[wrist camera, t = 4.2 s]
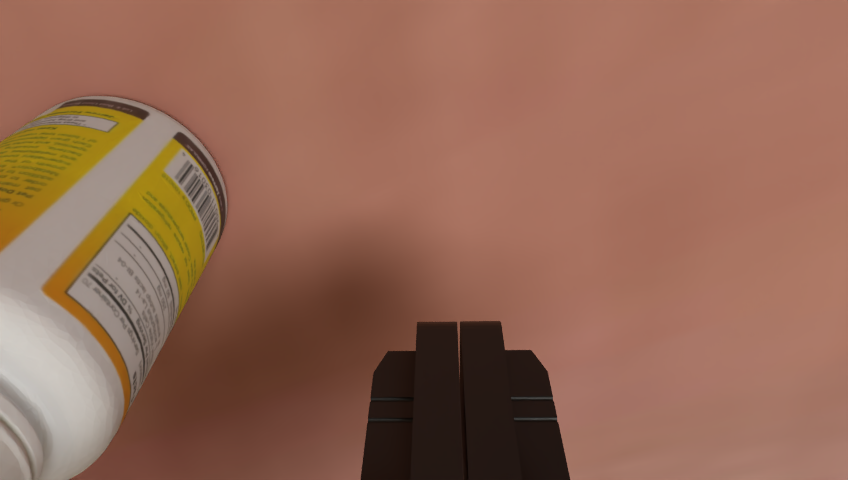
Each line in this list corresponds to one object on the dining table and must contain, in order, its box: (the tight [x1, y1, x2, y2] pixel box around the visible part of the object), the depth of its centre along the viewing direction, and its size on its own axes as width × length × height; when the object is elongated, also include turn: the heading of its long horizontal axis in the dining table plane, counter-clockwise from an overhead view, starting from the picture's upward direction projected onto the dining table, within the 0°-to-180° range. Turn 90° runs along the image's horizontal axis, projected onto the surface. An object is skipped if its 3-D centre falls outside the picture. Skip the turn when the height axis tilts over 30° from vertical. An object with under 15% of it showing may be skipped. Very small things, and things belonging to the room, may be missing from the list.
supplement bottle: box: [0, 96, 227, 480], centre depth 13 cm, size 6×6×10 cm
